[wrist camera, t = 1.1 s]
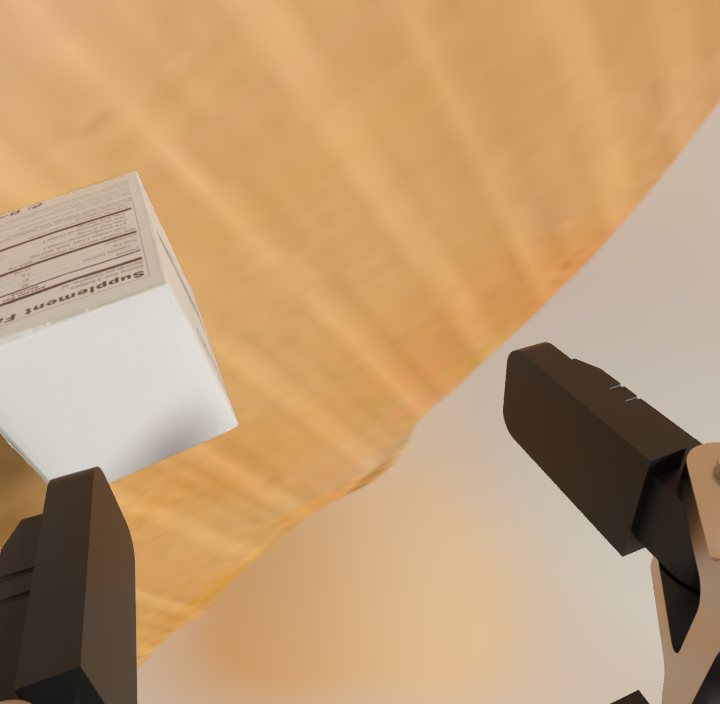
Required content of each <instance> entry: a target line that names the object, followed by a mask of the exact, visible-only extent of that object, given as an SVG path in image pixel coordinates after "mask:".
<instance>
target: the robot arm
mask: <svg viewBox="0 0 720 704" xmlns="http://www.w3.org/2000/svg"><path fill="white" fill-rule="evenodd" d="M503 415H504V420H505V424H506V426H507V429H508V431H509V433H510V434H511V436H512V437H513V438H514V440H515V441H516V442H517V443H518V444H519V445H520V446H521V447H522V448H523V449H524V450H525V451H526V453H527V454H528V455H529V456H530V457H531V458H532V459H533V460H534V461H535V462H536V463H537V464H538V466H539V467H540V468H541V469H542V470H543V471H544V472H545V473H546V474H547V475H548V476H549V478H551V480H552V481H553V482H554V483H555V484H556V485H557V486H558V487H559V488H560V489H561V491H562V492H563V493H564V494H565V495H566V496H567V497H568V498H569V499H570V500H571V501H572V502H573V504H574V505H575V506H576V507H577V508H578V509H579V510H580V511H581V512H582V513H583V514H584V515H585V517H586V518H587V519H588V520H589V521H590V522H591V523H592V524H593V525H594V526H595V527H596V528H597V530H598V531H599V532H600V533H601V534H602V535H603V536H604V537H605V538H606V539H607V540H608V542H609V543H610V544H611V545H612V546H613V547H614V548H615V549H616V550H617V551H618V552H619V553H620V555H621V556H625V555H627V554H630V553H633V552H635V551H637V550H640V549H642V548H644V547H646V548H647V549H648V550H649V552H650V553H652V555H653V559H652V562H651V573H652V581H653V588H654V594H655V601H656V608H657V615H658V622H659V628H660V635H661V642H662V649H663V655H664V664H665V665H664V666H665V676H664V686H663V695H662V704H720V443H706V444H702V443H700V442H699V441H697V440H696V439H695V438H693V437H692V436H691V435H689V434H688V433H687V432H685V431H684V430H683V429H681V428H680V427H678V426H677V425H676V424H674V423H673V422H672V421H670V420H669V419H668V418H666V417H665V416H664V415H662V414H661V413H660V412H658V411H657V410H656V409H654V408H653V407H651V406H650V405H649V404H647V403H646V402H645V401H643V400H642V399H637V396H636V395H635V394H634V393H632V392H631V391H630V390H628V389H627V388H626V387H621V386H620V383H619V382H618V381H616V380H615V379H614V378H612V377H611V376H610V375H608V374H607V373H605V372H604V371H603V370H601V369H600V368H597V367H594V366H592V365H590V364H587V363H585V362H582V361H580V360H577V359H570V358H569V357H568V356H566V355H565V354H564V353H562V352H561V351H560V350H559V349H557V348H556V347H555V346H553V345H552V344H550V343H547V342H544V343H540V344H536V345H533V346H529V347H526V348H522V349H519V350H515V351H512V352H511V353H510V355H509V357H508V360H507V370H506V382H505V393H504V405H503ZM0 704H137V663H136V604H135V557H134V549H133V543H132V539H131V535H130V532H129V529H128V526H127V523H126V521H125V519H124V517H123V515H122V512H121V510H120V508H119V506H118V503H117V501H116V499H115V497H114V495H113V492H112V490H111V488H110V486H109V484H108V481H107V479H106V477H105V475H104V473H103V471H102V470H101V468H100V467H98V466H97V467H93V468H89V469H86V470H82V471H79V472H75V473H72V474H68V475H64V476H61V477H57V478H54V479H51V480H50V481H49V483H48V487H47V492H46V498H45V504H44V510H43V514H40V515H37V516H33V517H30V518H26V519H23V520H21V522H20V523H19V524H18V526H17V527H16V529H15V530H14V532H13V533H12V535H11V536H10V538H9V539H8V541H7V542H6V543H5V545H4V546H3V548H2V549H1V554H0ZM611 704H649V703H648V702H647V700H646V699H645V698H644V697H643V695H642V694H641V692H640V691H639V690H638V691H636V692H633V693H631V694H629V695H628V696H625V697H623V698H621V699H619V700H618V701H616V702H613V703H611Z"/></svg>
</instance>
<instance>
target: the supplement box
mask: <svg viewBox="0 0 720 704" xmlns="http://www.w3.org/2000/svg"><path fill="white" fill-rule="evenodd" d="M237 425H238V422H237V420H236V417H235V414H234V411H233V408H232V406H231V403H230V400H229V397H228V394H227V392H226V389H225V386H224V383H223V380H222V377H221V374H220V371H219V368H218V366H217V363H216V360H215V357H214V354H213V351H212V348H211V345H210V341H209V338H208V335H207V332H206V330H205V327H204V324H203V321H202V318H201V315H200V312H199V309H198V306H197V303H196V300H195V298H194V295H193V292H192V289H191V287H190V285H189V283H188V281H187V279H186V278H185V276H184V273H183V271H182V269H181V267H180V265H179V262H178V260H177V258H176V256H175V254H174V252H173V250H172V247H171V245H170V243H169V241H168V239H167V237H166V234H165V232H164V230H163V228H162V226H161V224H160V222H159V219H158V217H157V215H156V213H155V211H154V209H153V207H152V204H151V202H150V200H149V198H148V196H147V193H146V191H145V189H144V187H143V184H142V182H141V180H140V177H139V175H138V173H137V172H136V171H132V172H130V173H127V174H124V175H121V176H118V177H115V178H112V179H109V180H106V181H103V182H100V183H96V184H93V185H90V186H88V187H84V188H81V189H78V190H75V191H72V192H69V193H66V194H63V195H60V196H56V197H53V198H51V199H48V200H44V201H41V202H38V203H35V204H32V205H29V206H26V207H23V208H20V209H17V210H14V211H11V212H8V213H5V214H2V215H0V434H1V435H2V436H3V437H4V438H5V439H6V441H7V442H8V443H9V444H10V445H11V446H12V448H13V449H14V450H16V451H17V452H18V453H19V454H20V455H21V456H22V457H23V458H24V459H25V461H26V462H27V463H28V464H29V465H30V466H31V467H32V468H33V469H34V470H35V471H36V472H37V473H38V474H39V475H40V477H41V478H42V479H43V480H44V481H45V482H46V483H47V484H48V483H49V481H50V480H51V479H54V478H57V477H61V476H64V475H68V474H72V473H75V472H79V471H82V470H86V469H89V468H93V467H97V466H98V467H100V468H101V470H102V471H103V473H104V475H105V477H106V479H107V481H108V483H111V482H113V481H115V480H118V479H120V478H122V477H124V476H127V475H129V474H131V473H134V472H136V471H138V470H141V469H143V468H145V467H147V466H150V465H152V464H154V463H156V462H159V461H161V460H163V459H166V458H168V457H170V456H173V455H175V454H177V453H180V452H182V451H184V450H186V449H189V448H191V447H193V446H196V445H198V444H200V443H203V442H205V441H207V440H209V439H212V438H214V437H216V436H219V435H221V434H223V433H225V432H227V431H229V430H231V429H233V428H235V427H236V426H237Z"/></svg>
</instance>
